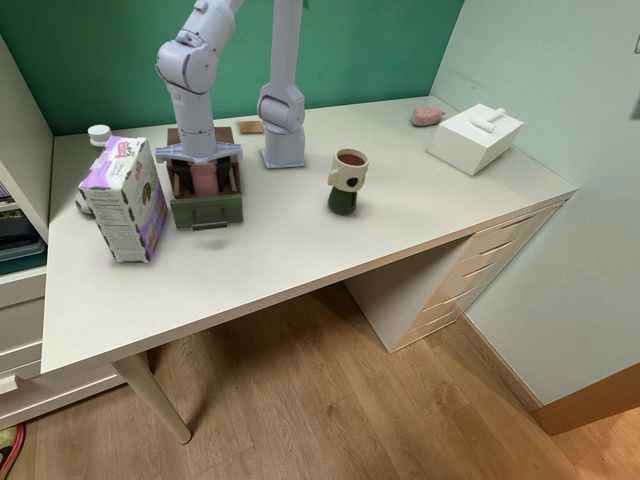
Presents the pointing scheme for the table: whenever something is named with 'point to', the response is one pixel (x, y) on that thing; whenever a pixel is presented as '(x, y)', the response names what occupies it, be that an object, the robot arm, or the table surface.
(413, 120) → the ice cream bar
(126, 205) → the candy box
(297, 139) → the robot arm
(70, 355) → the table surface
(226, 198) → the drawer
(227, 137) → the cabinet
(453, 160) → the white slanted box
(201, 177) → the pink short cylinder
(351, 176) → the character mug
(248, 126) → the cork mat
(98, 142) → the pill bottle
